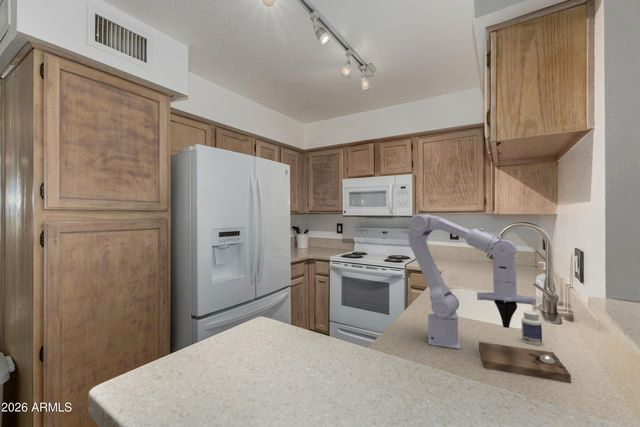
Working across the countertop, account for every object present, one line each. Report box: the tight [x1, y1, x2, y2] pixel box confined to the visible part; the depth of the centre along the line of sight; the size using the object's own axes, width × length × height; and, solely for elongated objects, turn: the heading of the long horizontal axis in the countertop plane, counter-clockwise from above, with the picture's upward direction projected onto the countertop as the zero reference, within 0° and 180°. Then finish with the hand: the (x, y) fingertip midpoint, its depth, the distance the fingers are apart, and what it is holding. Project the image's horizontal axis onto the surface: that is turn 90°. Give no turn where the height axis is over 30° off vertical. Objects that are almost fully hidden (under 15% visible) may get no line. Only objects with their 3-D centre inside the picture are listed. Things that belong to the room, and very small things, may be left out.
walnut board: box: [478, 341, 572, 384], centre depth 80 cm, size 19×13×2 cm
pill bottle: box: [521, 310, 543, 346], centre depth 94 cm, size 5×5×10 cm
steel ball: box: [539, 355, 555, 365], centre depth 78 cm, size 4×4×4 cm
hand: (505, 326), depth 84 cm, fingers closed
